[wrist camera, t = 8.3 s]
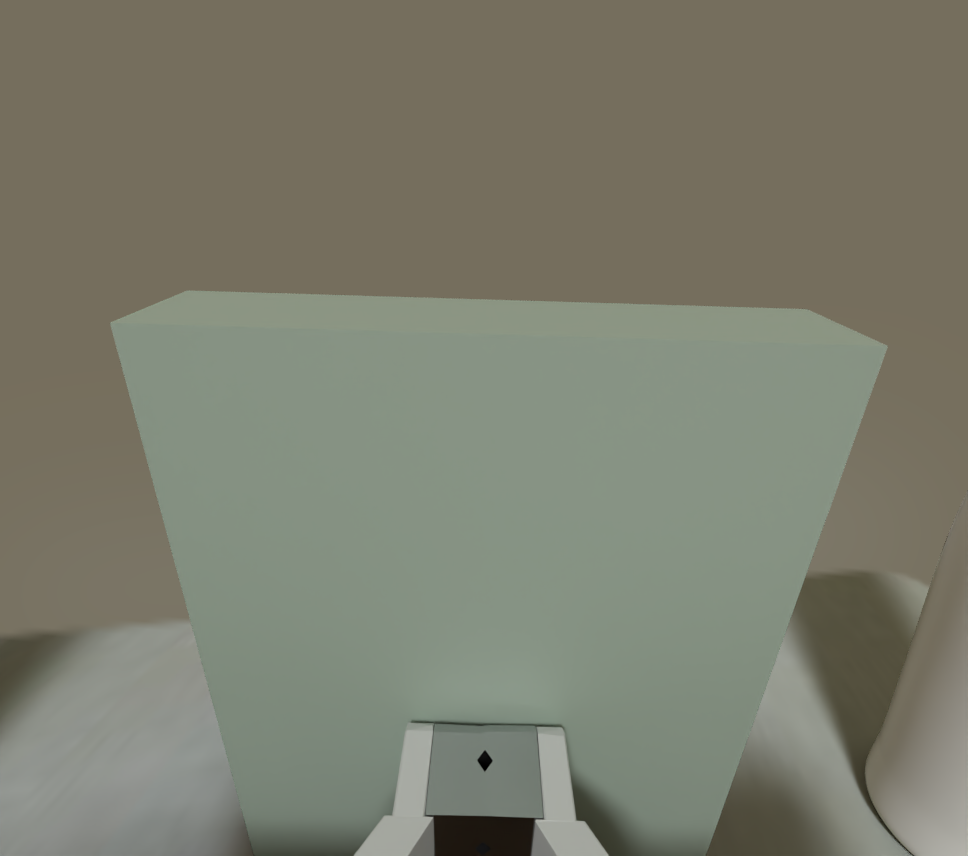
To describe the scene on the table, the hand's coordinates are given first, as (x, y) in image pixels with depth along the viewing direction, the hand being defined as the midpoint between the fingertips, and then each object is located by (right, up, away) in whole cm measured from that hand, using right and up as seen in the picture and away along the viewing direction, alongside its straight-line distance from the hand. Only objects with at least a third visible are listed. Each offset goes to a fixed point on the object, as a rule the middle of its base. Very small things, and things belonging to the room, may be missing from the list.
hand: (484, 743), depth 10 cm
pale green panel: (0, -5, +3) cm, 6 cm away
